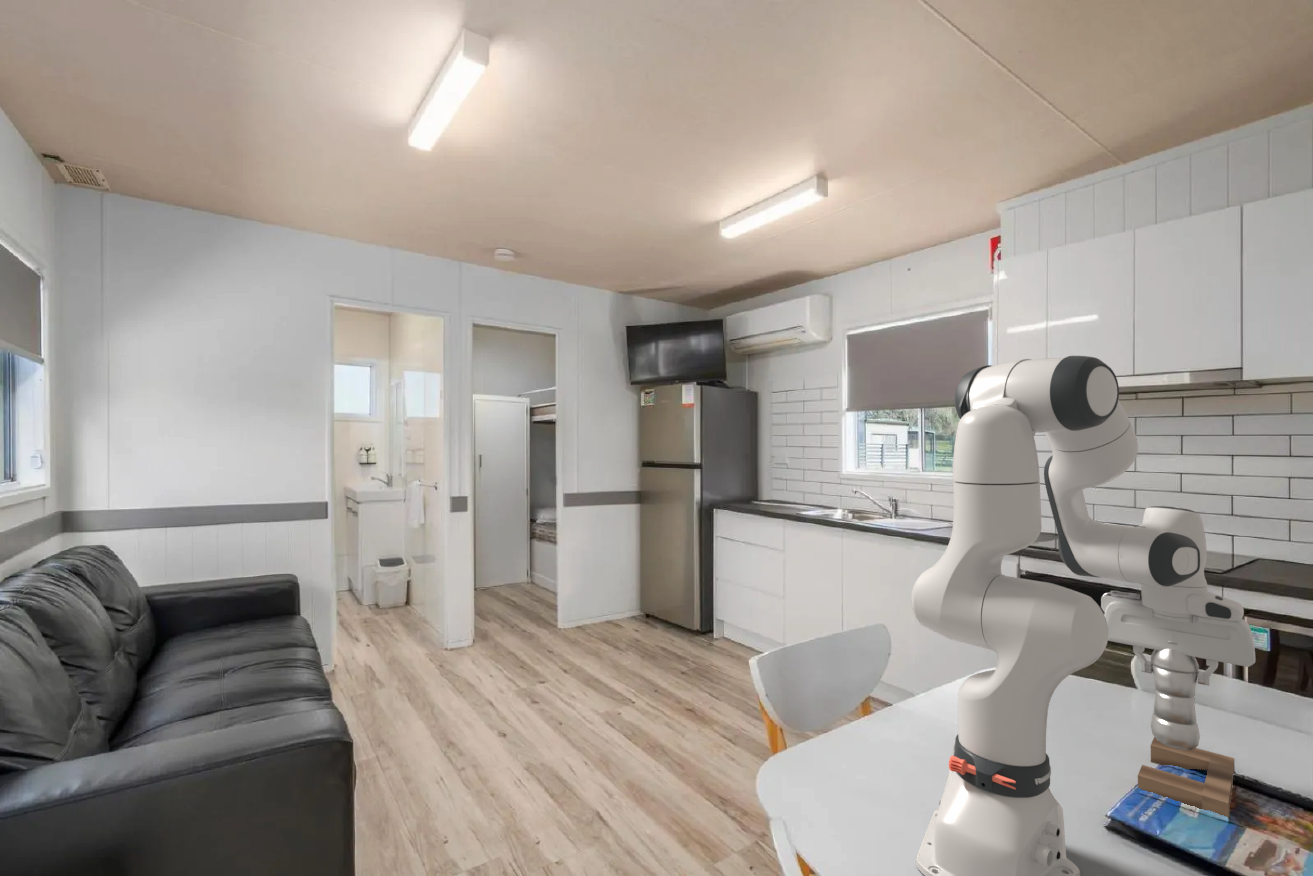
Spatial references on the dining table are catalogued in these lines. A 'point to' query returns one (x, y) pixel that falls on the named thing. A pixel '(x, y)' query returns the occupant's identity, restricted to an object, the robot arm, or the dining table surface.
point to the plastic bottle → (1175, 699)
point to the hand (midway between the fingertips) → (1174, 677)
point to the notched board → (1187, 790)
